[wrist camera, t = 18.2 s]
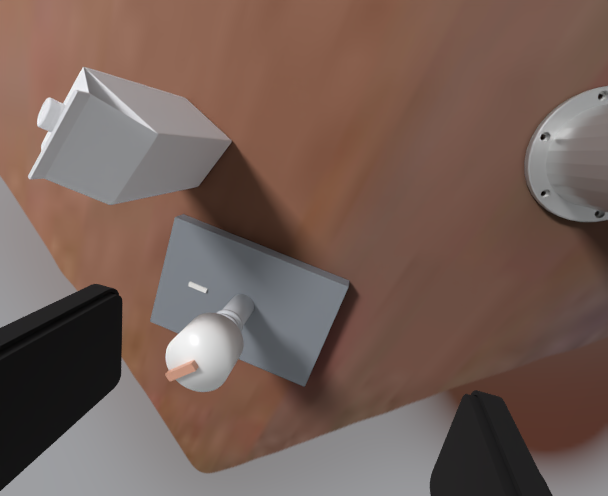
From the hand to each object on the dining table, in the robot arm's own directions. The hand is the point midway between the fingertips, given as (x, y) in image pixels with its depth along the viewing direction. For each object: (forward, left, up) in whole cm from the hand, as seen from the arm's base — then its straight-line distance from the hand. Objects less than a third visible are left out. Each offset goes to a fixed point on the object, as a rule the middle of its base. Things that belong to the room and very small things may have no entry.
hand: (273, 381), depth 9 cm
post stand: (+7, +16, -31) cm, 36 cm away
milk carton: (+19, 0, -32) cm, 37 cm away
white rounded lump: (+7, +16, -21) cm, 27 cm away
